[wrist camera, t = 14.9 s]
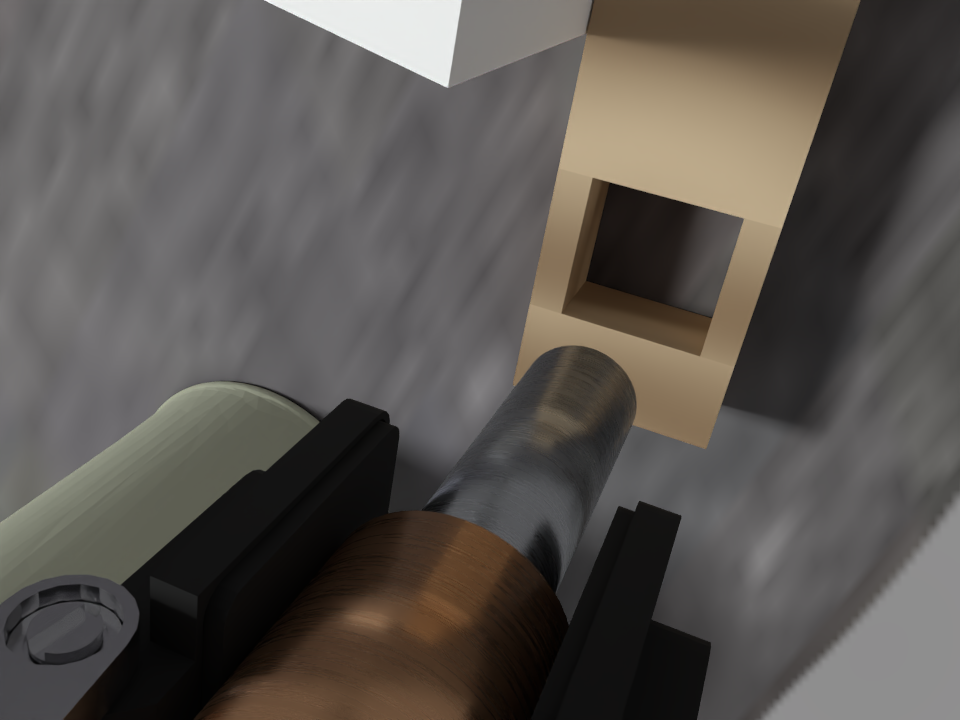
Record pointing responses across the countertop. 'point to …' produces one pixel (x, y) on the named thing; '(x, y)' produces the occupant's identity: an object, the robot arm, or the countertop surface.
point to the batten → (682, 179)
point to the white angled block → (449, 30)
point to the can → (148, 485)
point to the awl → (453, 572)
